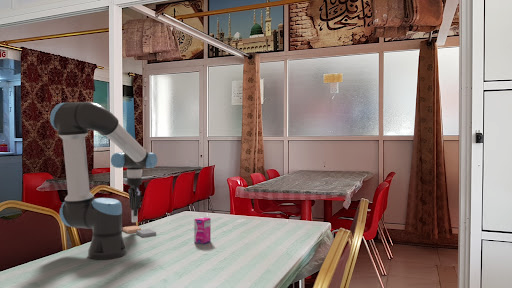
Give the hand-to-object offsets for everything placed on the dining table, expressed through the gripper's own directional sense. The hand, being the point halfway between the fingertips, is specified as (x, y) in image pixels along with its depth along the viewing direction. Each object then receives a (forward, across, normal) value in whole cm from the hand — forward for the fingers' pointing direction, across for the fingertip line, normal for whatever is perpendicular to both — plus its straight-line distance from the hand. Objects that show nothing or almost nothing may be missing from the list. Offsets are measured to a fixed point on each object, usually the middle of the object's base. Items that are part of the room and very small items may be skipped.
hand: (134, 221), depth 208 cm
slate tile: (+5, -13, -3) cm, 14 cm away
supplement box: (+6, -39, -18) cm, 44 cm away
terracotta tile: (+5, -1, 0) cm, 5 cm away
